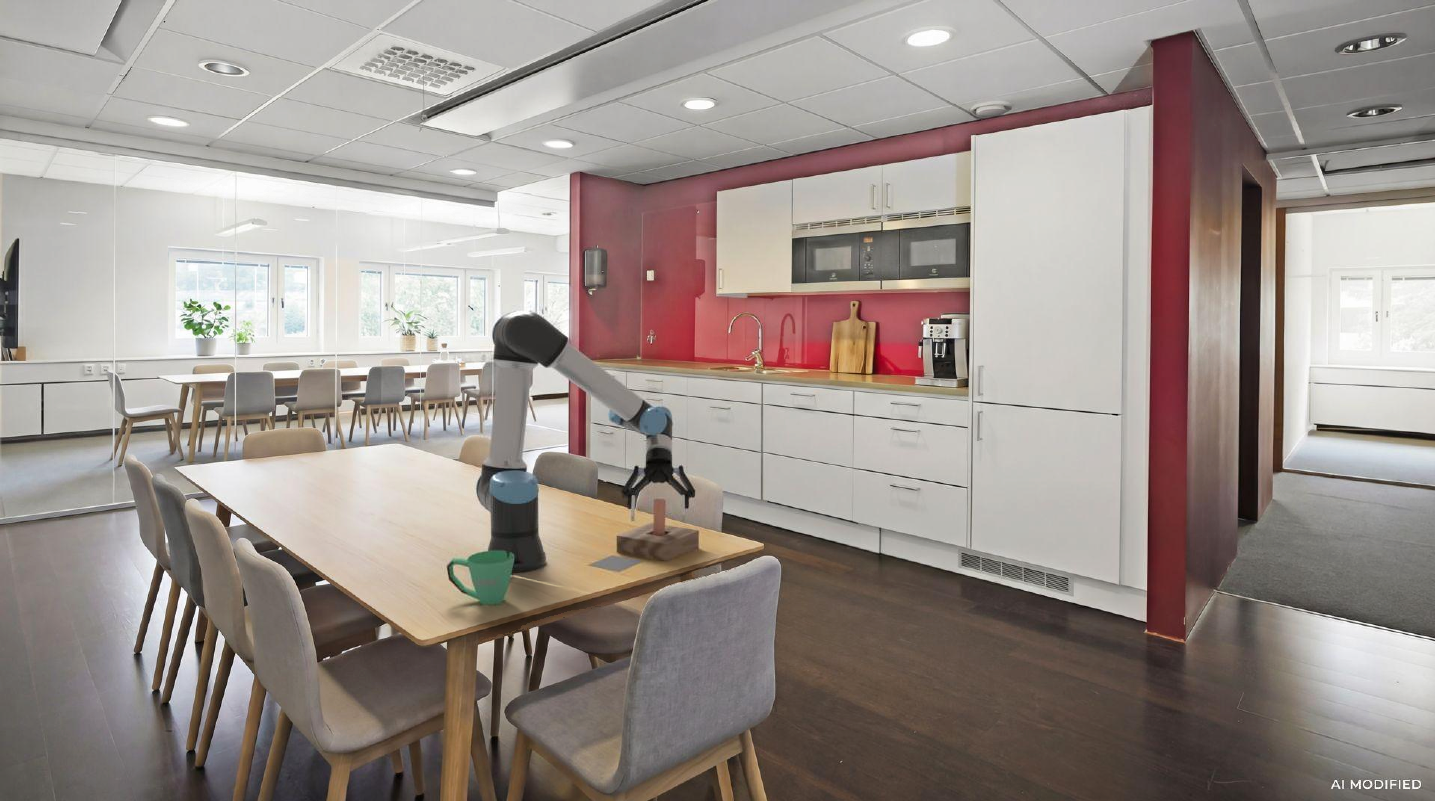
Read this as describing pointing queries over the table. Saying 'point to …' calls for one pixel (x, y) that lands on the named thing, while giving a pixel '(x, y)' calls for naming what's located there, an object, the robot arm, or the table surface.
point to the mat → (615, 563)
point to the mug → (485, 575)
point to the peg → (659, 517)
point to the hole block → (658, 542)
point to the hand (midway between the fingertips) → (658, 518)
